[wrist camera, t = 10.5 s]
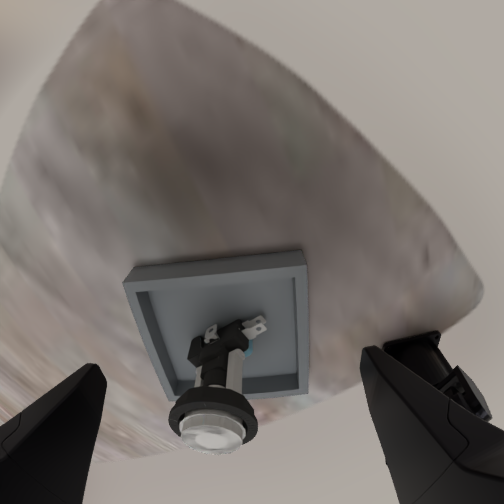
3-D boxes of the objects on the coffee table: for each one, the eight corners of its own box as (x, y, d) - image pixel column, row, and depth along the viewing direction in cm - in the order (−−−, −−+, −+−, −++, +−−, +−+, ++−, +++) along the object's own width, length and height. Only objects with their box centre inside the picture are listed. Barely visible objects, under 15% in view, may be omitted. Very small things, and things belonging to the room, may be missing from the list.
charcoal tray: (300, 249, 21) (306, 264, 19) (304, 374, 26) (308, 393, 24) (134, 267, 22) (122, 282, 20) (173, 382, 27) (169, 401, 24)
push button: (244, 290, 22) (241, 396, 13) (281, 336, 24) (295, 440, 15) (177, 329, 23) (146, 428, 14) (217, 368, 25) (206, 466, 16)
